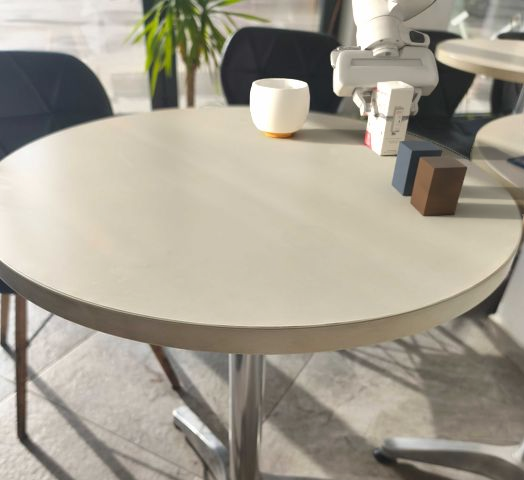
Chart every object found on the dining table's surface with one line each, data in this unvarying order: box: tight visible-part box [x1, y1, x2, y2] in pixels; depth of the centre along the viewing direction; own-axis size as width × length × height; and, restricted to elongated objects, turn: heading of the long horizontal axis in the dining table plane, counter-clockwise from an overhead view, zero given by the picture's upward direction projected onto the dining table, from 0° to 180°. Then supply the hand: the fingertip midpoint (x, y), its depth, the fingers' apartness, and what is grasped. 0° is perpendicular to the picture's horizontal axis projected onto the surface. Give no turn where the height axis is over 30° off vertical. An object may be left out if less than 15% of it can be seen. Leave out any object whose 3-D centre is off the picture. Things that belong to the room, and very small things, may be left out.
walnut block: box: [409, 155, 468, 217], centre depth 73 cm, size 5×5×7 cm
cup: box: [249, 77, 311, 139], centre depth 102 cm, size 12×12×10 cm
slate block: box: [391, 140, 443, 197], centre depth 79 cm, size 5×5×7 cm
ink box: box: [363, 81, 414, 156], centre depth 95 cm, size 9×5×12 cm, turn 12°
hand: (389, 114), depth 94 cm, fingers open, 8 cm apart
